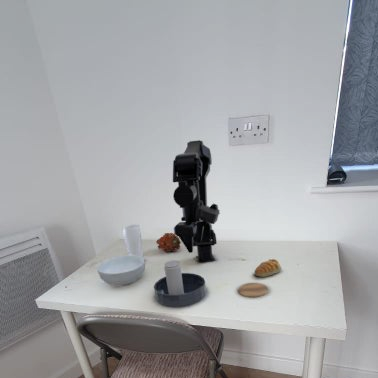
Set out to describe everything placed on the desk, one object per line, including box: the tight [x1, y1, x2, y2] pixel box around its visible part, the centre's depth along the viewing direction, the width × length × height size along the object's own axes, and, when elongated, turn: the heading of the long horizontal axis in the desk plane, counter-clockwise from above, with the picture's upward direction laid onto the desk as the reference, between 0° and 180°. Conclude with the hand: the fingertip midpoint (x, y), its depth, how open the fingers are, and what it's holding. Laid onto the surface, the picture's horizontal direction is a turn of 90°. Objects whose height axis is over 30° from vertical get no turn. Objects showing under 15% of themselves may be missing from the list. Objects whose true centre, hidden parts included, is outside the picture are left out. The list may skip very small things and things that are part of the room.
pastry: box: [254, 258, 282, 278], centre depth 112 cm, size 9×7×4 cm
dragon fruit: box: [155, 232, 182, 253], centre depth 141 cm, size 8×8×12 cm
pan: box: [153, 272, 207, 308], centre depth 104 cm, size 16×16×4 cm
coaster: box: [238, 282, 269, 298], centre depth 102 cm, size 9×9×1 cm
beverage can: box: [163, 260, 184, 295], centre depth 99 cm, size 5×5×12 cm
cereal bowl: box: [96, 254, 146, 287], centre depth 117 cm, size 17×17×7 cm
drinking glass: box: [121, 223, 145, 260], centre depth 131 cm, size 7×7×15 cm
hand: (195, 247), depth 108 cm, fingers open, 9 cm apart
